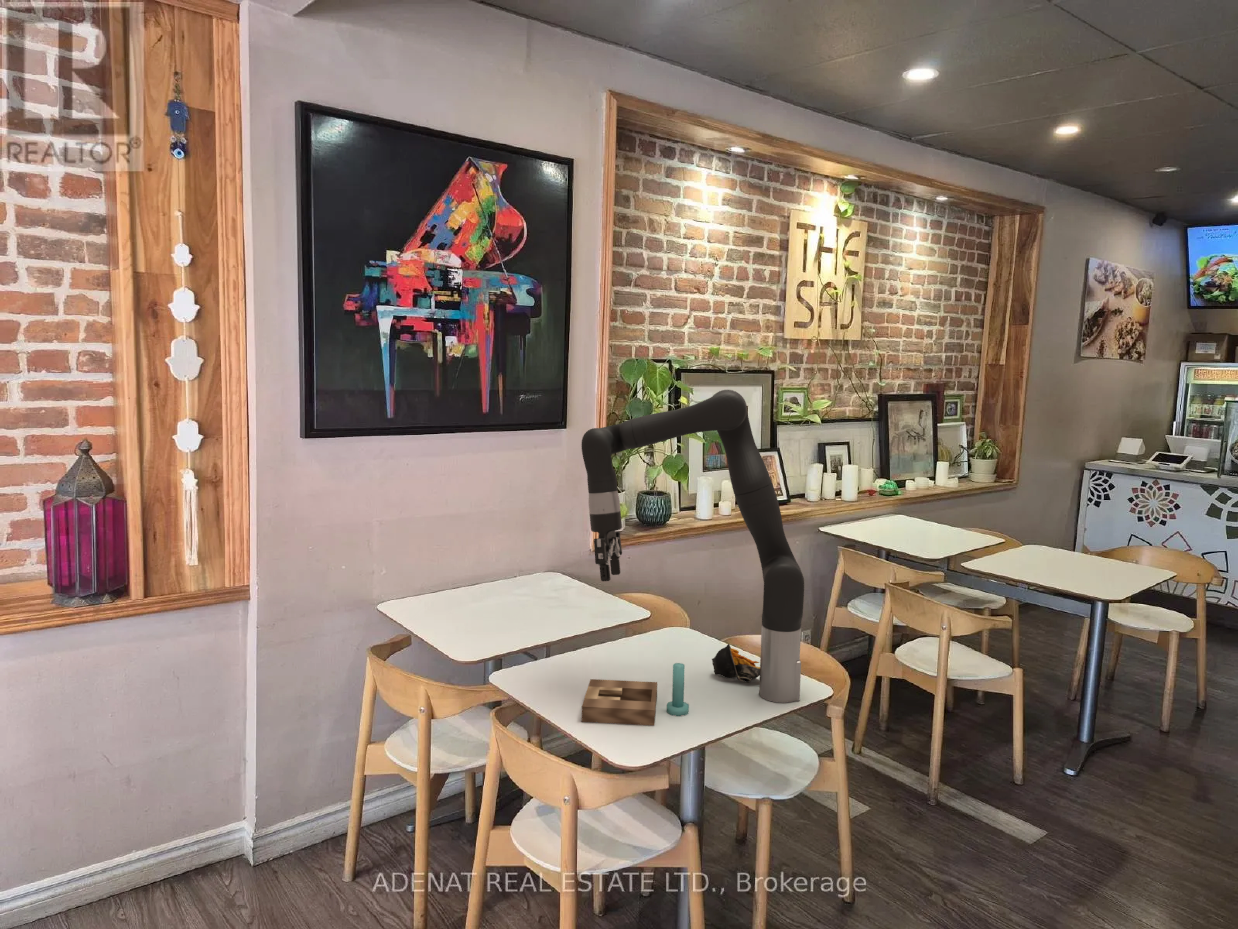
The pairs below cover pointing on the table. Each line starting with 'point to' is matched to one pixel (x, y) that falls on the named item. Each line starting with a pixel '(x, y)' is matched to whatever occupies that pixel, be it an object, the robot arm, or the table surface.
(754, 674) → the black fries container
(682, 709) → the peg
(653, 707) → the keyhole plate
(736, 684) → the table surface
